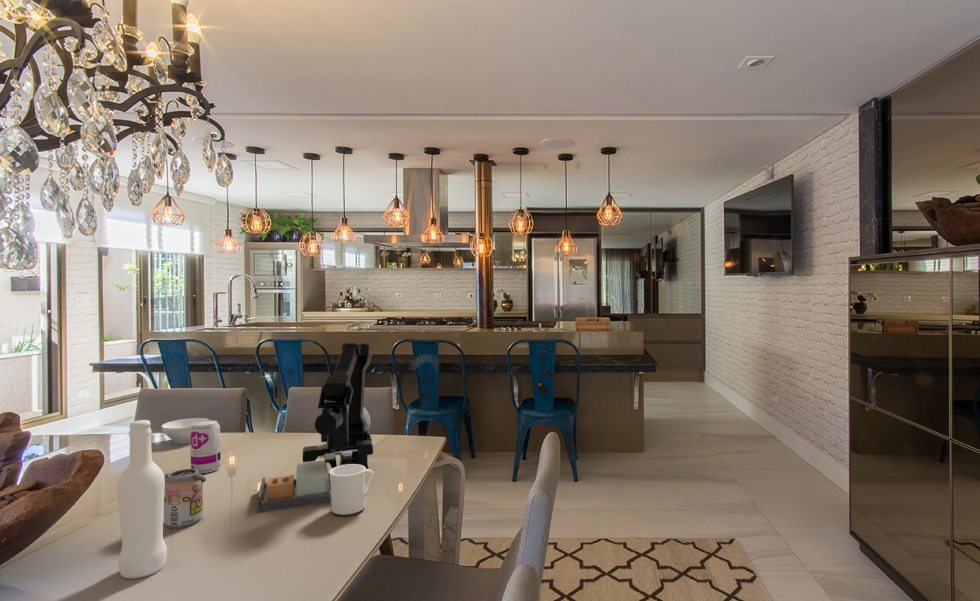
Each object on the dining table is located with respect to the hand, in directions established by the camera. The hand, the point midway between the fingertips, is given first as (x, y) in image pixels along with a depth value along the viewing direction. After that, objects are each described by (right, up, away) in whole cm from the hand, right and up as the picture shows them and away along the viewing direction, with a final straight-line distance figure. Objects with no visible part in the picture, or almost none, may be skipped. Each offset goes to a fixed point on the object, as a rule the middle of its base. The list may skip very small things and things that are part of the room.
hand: (338, 481), depth 146 cm
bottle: (-27, -4, -41) cm, 50 cm away
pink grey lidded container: (-32, -4, -19) cm, 37 cm away
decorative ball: (-9, -2, +47) cm, 48 cm away
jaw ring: (-14, -2, -5) cm, 15 cm away
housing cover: (-6, -1, -2) cm, 7 cm away
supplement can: (-47, -3, +18) cm, 51 cm away
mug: (+7, -3, -13) cm, 15 cm away
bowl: (-73, -3, +52) cm, 89 cm away
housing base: (-11, -3, -4) cm, 12 cm away
